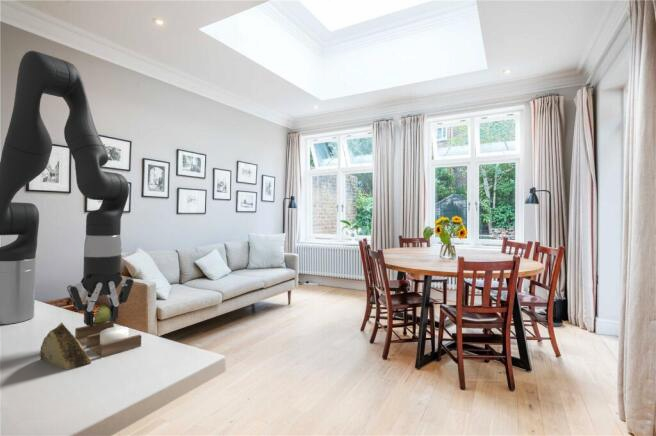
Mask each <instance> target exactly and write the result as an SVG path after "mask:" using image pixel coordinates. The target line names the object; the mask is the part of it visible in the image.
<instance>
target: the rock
mask: <svg viewBox="0 0 656 436" xmlns="http://www.w3.org/2000/svg"><path fill="white" fill-rule="evenodd" d="M39 357H40V360H41V361H45V362H47V363H50V364H53V365H55V366H58V367H60V368H62V369H65V370H71V369H77V368H81V367H84V366H88V365H91V364H92V363H91V362H92V361H91V358H90V357H89V355H88V354H87V352H86V351H85V349H84V348H83V344H82V343H81V342H79V341H78V340H77V339H76V338H75V335H73V334H72V332H71V331H70V330H69V329H68V328H67V327H66V325H65V324H64V322H60V323H59V324H58V325H57V326H56V327H54V328H53V329H52V330H50V331H49V332H48V333H47V335H46V336H44V338H43V340H42V343H41V346H40V353H39Z"/></svg>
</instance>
